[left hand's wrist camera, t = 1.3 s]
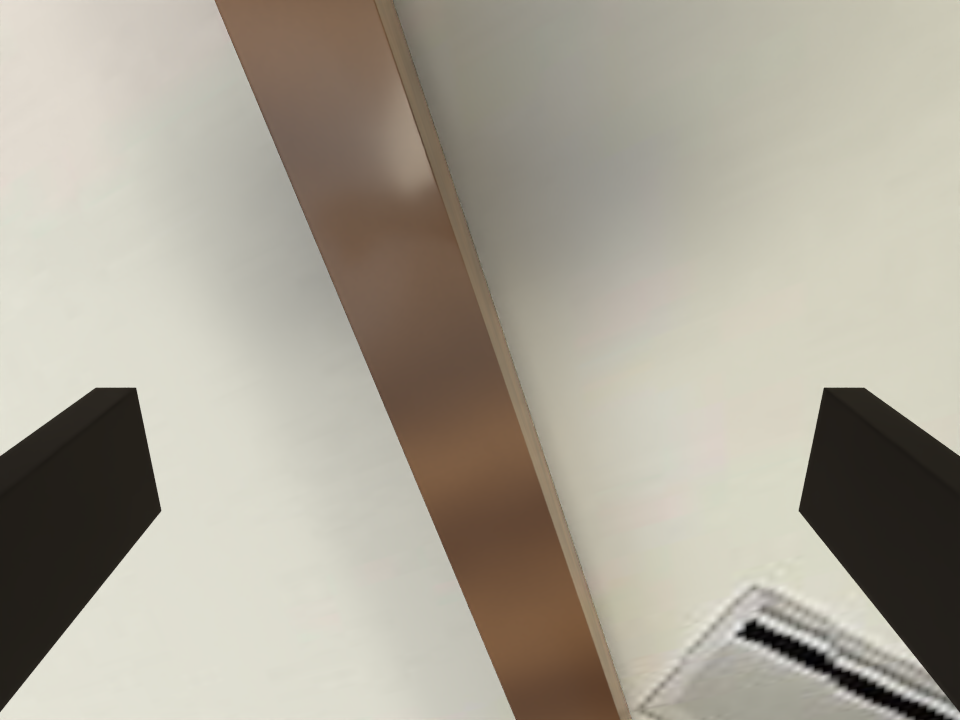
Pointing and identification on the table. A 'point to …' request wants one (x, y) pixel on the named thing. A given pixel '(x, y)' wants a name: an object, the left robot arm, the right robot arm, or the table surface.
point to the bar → (429, 334)
